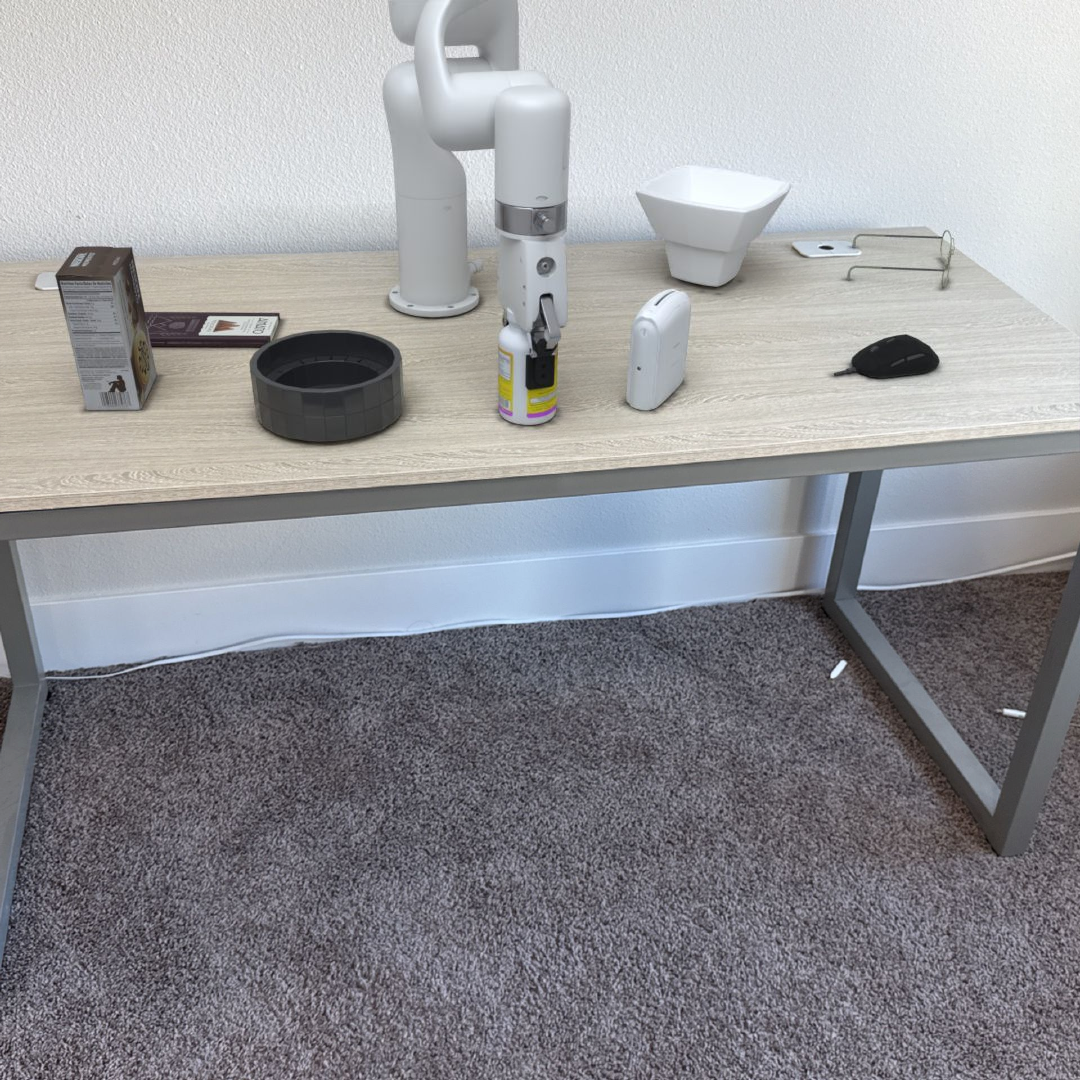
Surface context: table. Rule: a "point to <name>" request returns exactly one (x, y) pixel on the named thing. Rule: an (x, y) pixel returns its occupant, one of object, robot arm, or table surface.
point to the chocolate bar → (211, 328)
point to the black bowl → (327, 385)
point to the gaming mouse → (894, 358)
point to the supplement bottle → (521, 378)
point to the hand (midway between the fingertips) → (527, 372)
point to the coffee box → (107, 327)
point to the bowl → (709, 218)
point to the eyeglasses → (908, 268)
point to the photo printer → (658, 349)
